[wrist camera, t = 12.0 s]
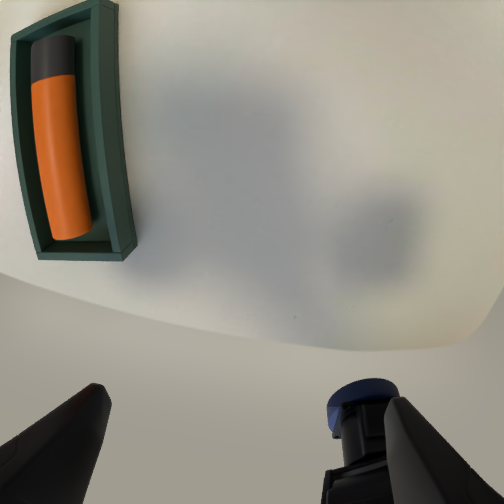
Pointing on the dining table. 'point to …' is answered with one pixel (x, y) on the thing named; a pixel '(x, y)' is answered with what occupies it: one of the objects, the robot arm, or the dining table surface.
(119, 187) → the pen tray
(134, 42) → the dining table surface
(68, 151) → the marker
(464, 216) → the dining table surface
